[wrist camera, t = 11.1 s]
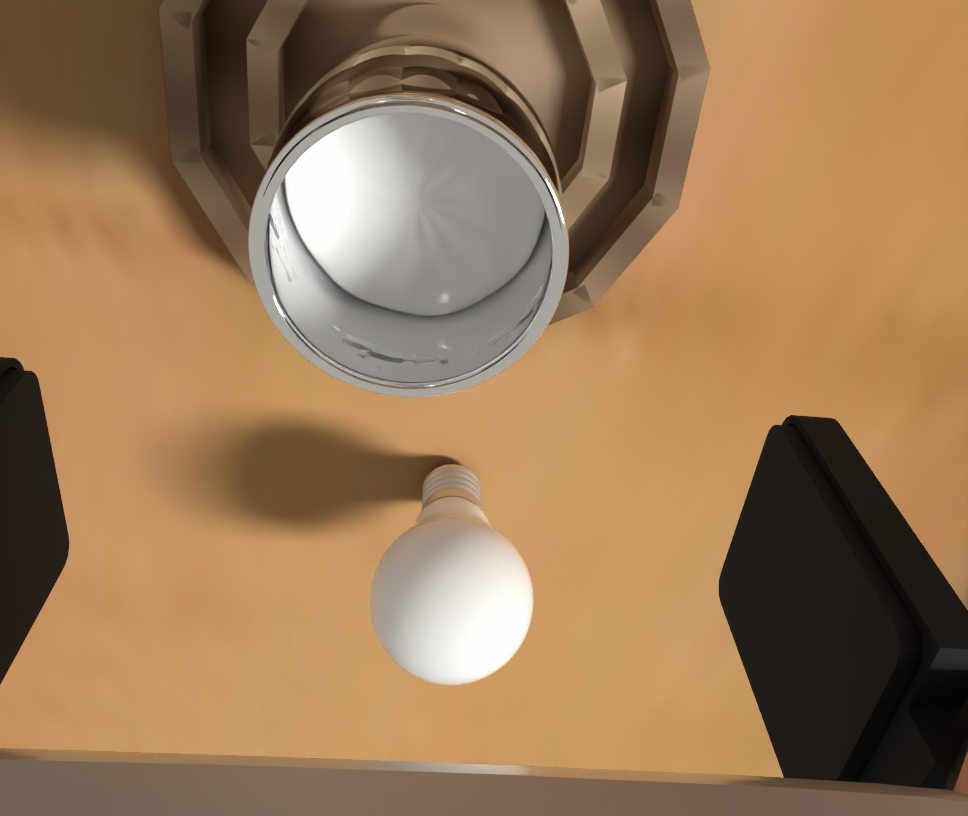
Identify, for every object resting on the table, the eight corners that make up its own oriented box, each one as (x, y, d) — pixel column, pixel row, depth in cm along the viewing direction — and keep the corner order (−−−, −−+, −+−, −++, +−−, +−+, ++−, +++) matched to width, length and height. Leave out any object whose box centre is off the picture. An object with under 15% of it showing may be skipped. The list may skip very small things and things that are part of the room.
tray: (160, -243, 26) (133, -254, 24) (742, -167, 28) (767, -170, 25) (199, 303, 35) (182, 332, 33) (632, 338, 37) (644, 368, 35)
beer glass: (384, 224, 33) (342, 449, 20) (289, 45, 29) (166, 179, 17) (555, 147, 32) (626, 335, 19) (476, -50, 28) (498, 16, 15)
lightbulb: (535, 513, 42) (558, 699, 32) (409, 545, 43) (397, 735, 33) (498, 406, 38) (513, 578, 29) (363, 443, 39) (335, 621, 30)
